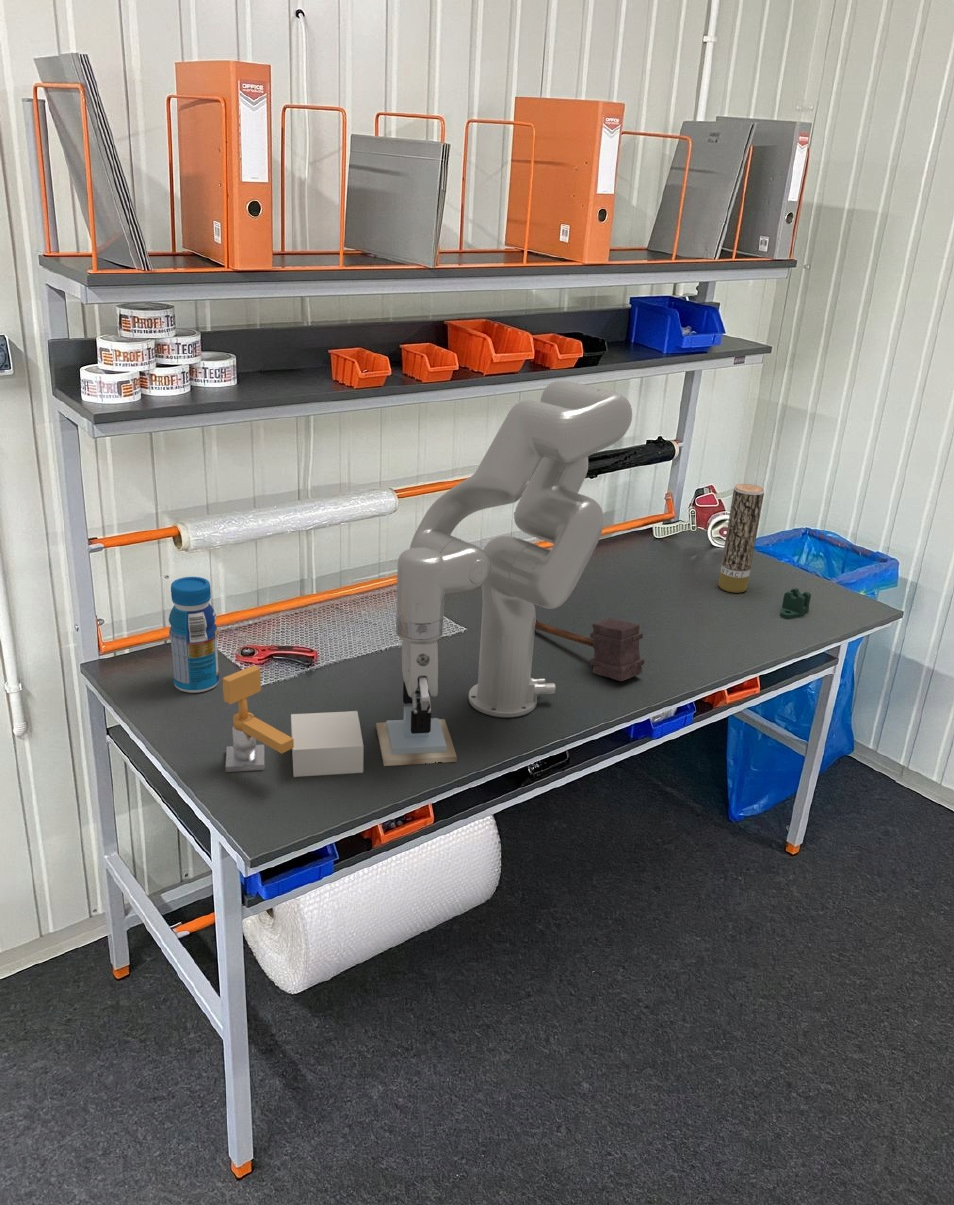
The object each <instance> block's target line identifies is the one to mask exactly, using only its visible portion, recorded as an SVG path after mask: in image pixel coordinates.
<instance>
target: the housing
mask: <svg viewBox="0 0 954 1205" xmlns="http://www.w3.org/2000/svg"><path fill="white" fill-rule="evenodd" d="M290 723H291V725H290V726H291V727H290V730H291V731H290V732H291V736H290V737H291V738H293V739H294V748H292V749H291V751H292V752H291V754H292V769H293V771H292V772H293V774H292V775H293V778H298V777H312V776H313V777H314V776H330V775H345V774H346V775H347V774H360V773H361V774H363V773H364V743H363V742H364V741H363V737H362V735H363V734H362V730H361V724H360V718H359V712H358V710H351V711H349V710H348V711H335V712H334V711H332V712H330V711H328V712H314V713H313V712H312V713H291V714H290Z"/></svg>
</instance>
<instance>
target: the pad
mask: <svg viewBox="0 0 954 1205" xmlns="http://www.w3.org/2000/svg"><path fill="white" fill-rule="evenodd" d="M439 722H440V726H441V729H442V732H443V736H444V739H445V742H446V745H447V748H446V752H438V753H420V754H402V755H392V752H391V747H390V743H389V738H388V733H387V728H386V721H385V722H376V723H375V724H376V725H375V728H376V733H377V738H378V743H379V749H380V753H381V758H382V763H383V767H389V766H390V767H392V766H405V765H409V766H410V765H423V764H424V765H425V763H426V764H439V763H438V762H442V763H454V762H456V763H457V758H458V757H457V753H456V751H455V747H454V744H453V741H452V738H451V734H450V731H449V728H448V725H447V722H446V719H445V718H442V719H440V718H439ZM435 762H436V763H435Z"/></svg>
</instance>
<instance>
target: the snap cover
mask: <svg viewBox="0 0 954 1205" xmlns="http://www.w3.org/2000/svg"><path fill="white" fill-rule="evenodd" d="M411 711H413V705H411V706H409V705H408V706H403V718H402V719H394V720H393V719H391V720H386V721H385V722H386V728H387V733H388V738H389V743H390V747H391V752H392V755H402V754H420V753H438V752H446V748H447V745H446V742H445V739H444V736H443V732H442V729H441V726H440V722H439V720H440V718H438V717H434V718H433V717H431V731H430V732H429V733H417V734H412V733H411Z"/></svg>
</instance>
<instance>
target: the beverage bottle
mask: <svg viewBox="0 0 954 1205" xmlns="http://www.w3.org/2000/svg"><path fill="white" fill-rule="evenodd" d="M210 583H211V582H210V581H209V580H208V579H206V578H204V577H200V576H185V577H181V578H177V579H175V580H174V581H172V583H171V584H170V596H171V601H172V603H173V606H172V608H171V610H170V612H169V615H168V623H169V625H170V627H169V629H168V635H169V639H170V647H171V656H172V657H171V658H172V660H171V661H172V669H173V670H172V671H173V685H174V686H175V688H176V689H177V690H179V691H182V692H183V693H184V692H185V693H190V694H195V693H202V692H203V693H205V692H207V691H210V690H212V689H214V688H216V687H217V685H218V684H219V682H220V669H219V657H218V634H219V630H218V626H217V623H216V621H217V614H216V612H215V610H214V608H213V606H212V605H211V604H210V601H211V599H212V597H211V596H212V591H211V584H210Z"/></svg>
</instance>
